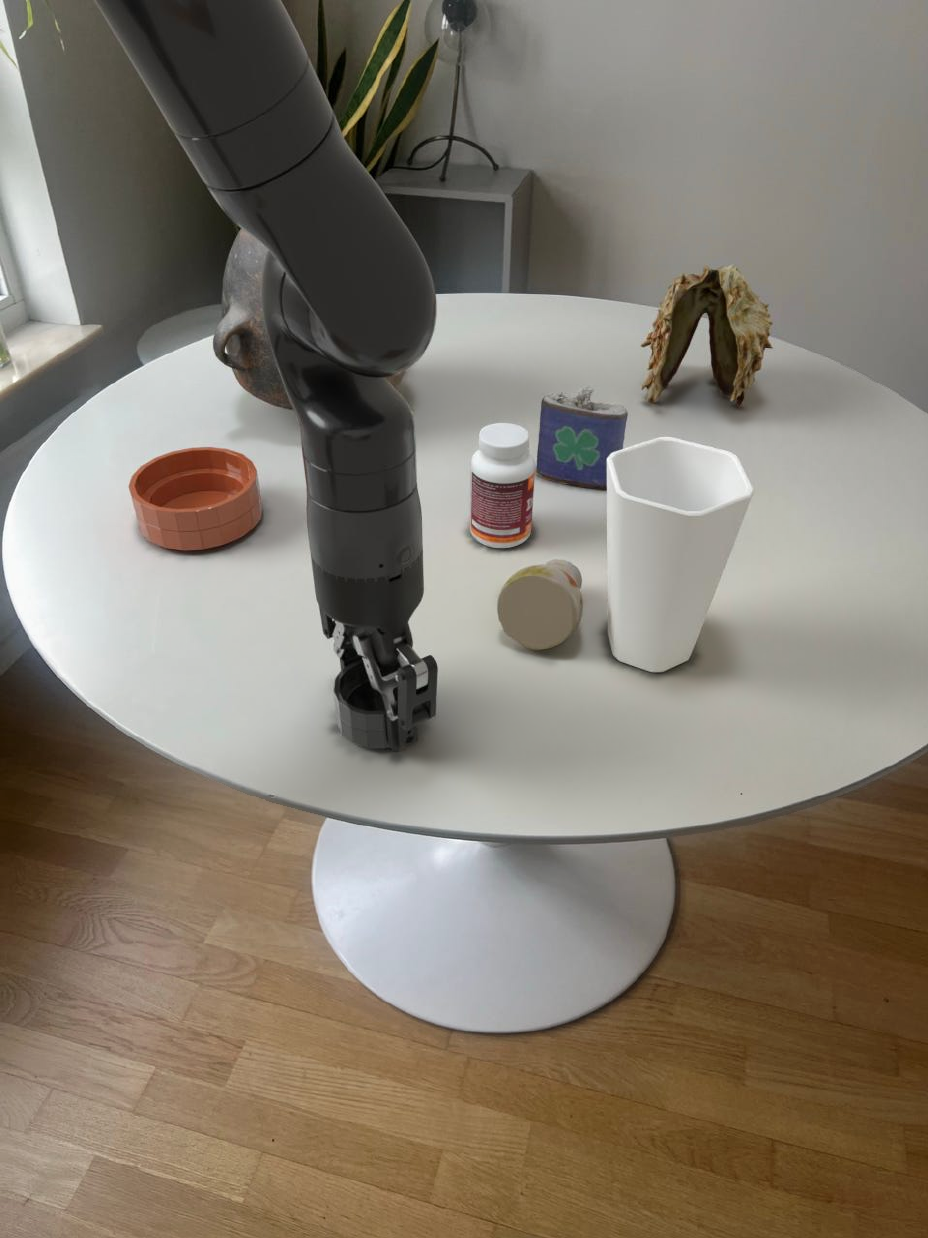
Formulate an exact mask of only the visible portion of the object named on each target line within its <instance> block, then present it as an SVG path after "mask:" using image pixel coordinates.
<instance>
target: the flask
mask: <svg viewBox="0 0 928 1238" xmlns="http://www.w3.org/2000/svg"><path fill="white" fill-rule="evenodd" d="M594 391H595V389H594V388H593V387H590V386H589V385H588V386H586V387H585V388H584V387H581V388H579V389H578V391H577V394H578V395H575V396H574V397H571V396H570V395H569V394H563V392H562V391H560V392H558V393H547V394H546V395H545V394H544V395H543V398H541V402H540V416H539V431H538V441H537V442H538V443H537V451H536V475H537V476H539V478H543V479H544V480H547V481H552V482H555V483H559V484H563V485H569V486H575V487H576V486H577V487H580V488H581V487H583V488H589V489H594V490H600V491H601V490H604V491H605V490H607V458H608V457H609V455H610V454H611V453H612V452H615V451H618V450H621V449H624V442H625V438H626V437H625V434H626V428H627V423H628V422H627V421H628V417H629V414H628V413H629V411H628V410H627V408H626V407H625V406H623V405H620V404H610V403H602V402H594V401H592V400H591V396H592V394H593V393H594Z"/></svg>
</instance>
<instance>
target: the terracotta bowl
mask: <svg viewBox="0 0 928 1238" xmlns="http://www.w3.org/2000/svg"><path fill="white" fill-rule="evenodd" d="M259 482H260V481H259V475H258V470H257V467H256V466H255V464H254V462H253V460H252V459H250V458H248V457H247V456H246V455H244V454H242V453H240V452H238V451H235V450H232V449H229V448H222V447H214V446H199V447H188V448H184V449H178V450H173V451H170V452H167V453H165V454H162V455H159V456H156V457H154V458H152V459H150V460H149V461H147V462H145V463H144V464H142V465H140V467H139V468H138V469H137V470H136V471H135V472H134V473H133V474H132V476H131V478H130V481H129V484H128V490H129V494H130V498H131V502H132V505H133V510H134V513H135V517H136V521H137V524H138V528H139V531H140V533H141V535H142V536H144V537H145V538H146V539H147V541H149V542H150V543H152V544H154V545H157V546H160V547H161V548H165V549H169V550H178V551H200V550H208V549H214V548H217V547H221V546H223V545H227V544H229V543H231V542H233V541H236V540H239V539H241V538H242V537H244V536H245V535H246V534H248V533H249V532H250V531H252V530H253V529H254V528H255V527H256V526H257V524H258V523H259V521H260V520H261V519H262V515H263V513H262V512H263V501H262V494H261V488H260V483H259Z"/></svg>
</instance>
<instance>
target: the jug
mask: <svg viewBox="0 0 928 1238" xmlns="http://www.w3.org/2000/svg"><path fill="white" fill-rule="evenodd" d="M267 252H268V249H267V248H266V247H265V246H264V245H263V244H261V243H260V242H259V241H258V240H256V239H255V238H254V237H252V236H251V235H250V234H248V233H247V232H245V231H244V230H243V229H241V228H240V230H239V232H237V235H236V237H235V239H234V241H233V244H232V246H231V248H230V251H229V253H228V256H227V260H226V263H225V267H224V271H223V277H222V291H221V321H220V322H219V323H218V325H217V327H216V328H215V330H214V333H213V334H214V335H213V338H212V349H213V353H214V356H215V358H217V359H218V361H220V362H221V363H222V364H224V365H225V366H227V367H228V368H231V370H232V373H233V375H234V378H235V380H236V381H237V383H238V384H239V385H240V387H242V389H244V390H245V391H246V392H247V393H248V394H250V395H251V396H253V397H255V398H257V399H258V400H261V401H263V402H265V403H267V404H269V405H271V406H274V407H277V408H281V409H284V410H285V409H286V410H290V411H294V410H293V407H292V405H291V403H290V401H289V398H288V396H287V393H286V390H285V387H284V384H283V381H282V378H281V376H280V373H279V370H278V367H277V364H276V361H275V358H274V355H273V352H272V349H271V346H270V343H269V339H268V336H267V332H266V329H265V324H264V320H263V314H262V307H261V293H260V289H261V276H262V269H263V265H264V261H265V258H266V255H267ZM406 371H407V370H405V371H404V372H402V373H400V374H397V375H394V376H390V377H385V378H386V379H387V380H388V381H389V383H390V384H391V385H392V386H393V387H394V388H395V389H396V387H398V386H399V384H400V383H401V382H402V380H403V378H404V376H405V374H406Z"/></svg>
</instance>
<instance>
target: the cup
mask: <svg viewBox="0 0 928 1238" xmlns="http://www.w3.org/2000/svg"><path fill="white" fill-rule="evenodd" d="M754 493H755V489H754V487H753V485H752V483H751V481H750V479H749V477H748V475H747V473H746V470H745V469H744V466H743V464H742V463H741V461H740V458H739V456H737V455H736V454H734V453H733V452H731V451H729V450H725V449H721V448H717V447H712V446H708V445H704V444H701V443H697V442H693V441H689V440H685V439H681V438H676V437H673V436H659V437H656V438H653V439H649V440H646V441H643V442H641V443H637V444H634V445H631V446H627V447H625V448H623V449H621V450H618V451H615V452H612V453H611V454H610V455H609V457H608V458H607V489H606V551H607V552H606V555H607V556H606V559H607V560H606V562H607V563H606V564H607V565H606V567H607V568H606V571H607V572H606V573H607V576H606V577H607V583H606V585H607V586H606V587H607V636H608V641H609V645H610V651H611V654H612V656H613V657H614V658H615V659H616V660H618V661H619V662H621V663H624V664H626V665H629V666H631V667H632V666H633V667H635V668H638V669H640V670H643V671H646V672H648V673H649V672H650V673H664V672H666V671H668V670H670V669H672V668H674V667H676V666H678V665H680V664H681V665H682V664H683V663H685V662H688V661H689V659H690V658H691V656H692V654H693V651H694V649H695V646H696V643H697V641H698V638H699V636H700V633H701V632H702V631H701V630H702V628H703V625H704V623H705V620H706V619H707V618H706V617H707V615H708V612H709V609H710V608H711V604H712V603H713V600H714V598H715V597H714V596H715V594H716V591H717V589H718V587H719V584H720V582H721V578H722V576H723V573H724V571H725V569H726V566H727V563H728V560H729V558H730V555H731V552H732V550H733V548H734V545H735V543H736V539H737V537H738V534H739V532H740V529H741V527H742V524H743V521H744V519H745V516H746V514H747V511H748V509H749V506H750V503H751V502H752V501H751V500H752V498H753V495H754Z"/></svg>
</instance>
